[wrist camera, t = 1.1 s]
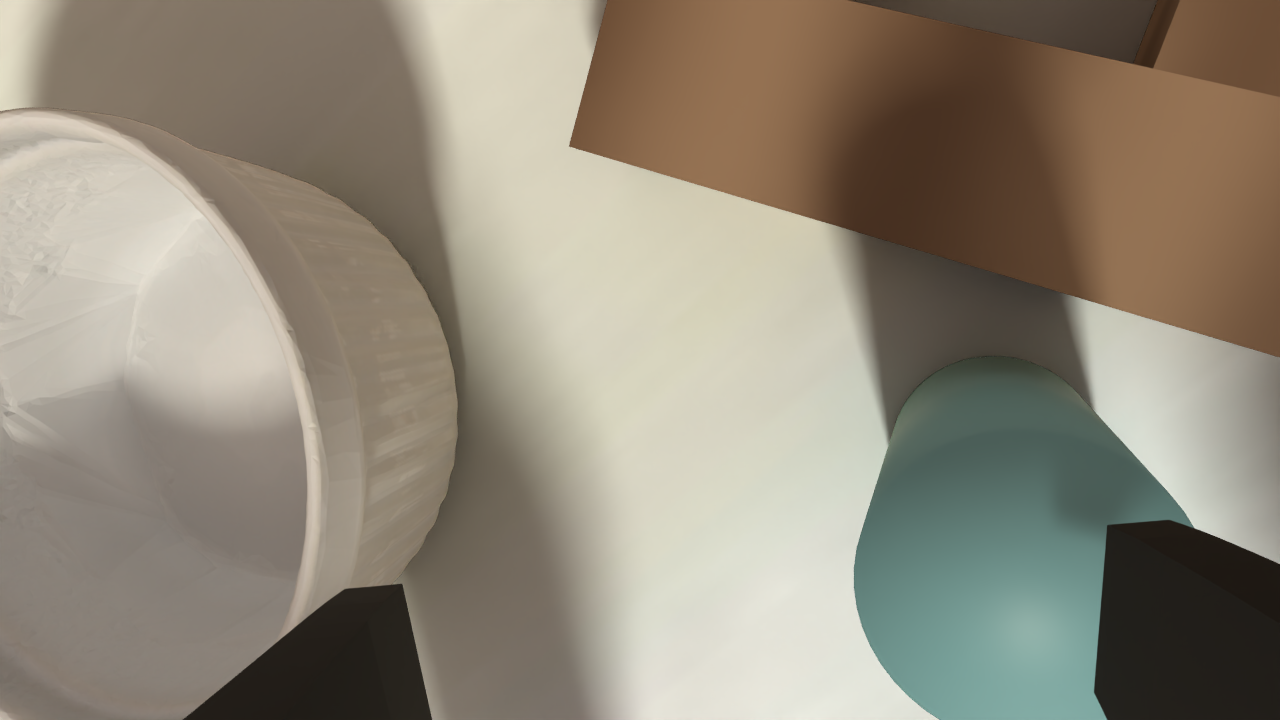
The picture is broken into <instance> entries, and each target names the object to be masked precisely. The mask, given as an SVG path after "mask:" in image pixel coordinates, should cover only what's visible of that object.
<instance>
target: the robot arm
mask: <svg viewBox="0 0 1280 720" xmlns="http://www.w3.org/2000/svg"><path fill="white" fill-rule="evenodd" d="M1094 694H1095V696H1096V698H1097V700H1098V702H1099V704H1100V706H1101V708H1102V710H1103V712H1104V714H1105V716H1106V718H1107V720H1280V564H1278V563H1276V562H1274V561H1271V560H1269V559H1267V558H1264V557H1262V556H1260V555H1258V554H1255V553H1253V552H1251V551H1248V550H1246V549H1244V548H1241V547H1239V546H1237V545H1234V544H1232V543H1230V542H1227V541H1225V540H1223V539H1220V538H1218V537H1215V536H1213V535H1210V534H1208V533H1205V532H1203V531H1200V530H1197V529H1195V528H1192V527H1189V526H1187V525H1184V524H1181V523H1178V522H1175V521H1172V520H1159V521H1147V522H1135V523H1123V524H1111V525H1107V533H1106V546H1105V558H1104V571H1103V583H1102V596H1101V608H1100V621H1099V633H1098V646H1097V658H1096V671H1095V683H1094ZM183 720H432V717H431V713H430V708H429V704H428V699H427V695H426V690H425V686H424V681H423V676H422V672H421V667H420V663H419V658H418V654H417V649H416V644H415V640H414V635H413V631H412V626H411V622H410V617H409V612H408V608H407V603H406V599H405V594H404V590H403V585H402V584H395V585H383V586H371V587H360V588H348V589H344V590H342V591H341V592H340V593H338V594H337V595H335V596H334V597H333V598H331V599H330V600H328V601H327V602H326V603H324V604H323V605H322V606H321V607H319V608H318V609H317V610H316V611H314V612H313V613H312V614H310V615H309V616H308V617H307V618H306V619H304V620H303V621H302V622H301V623H299V624H298V625H297V626H296V627H295V628H293V629H292V630H291V631H290V632H289V633H287V634H286V635H285V636H284V637H282V638H281V639H280V640H279V641H278V642H276V643H275V644H274V645H273V646H272V647H270V648H269V649H268V650H267V651H266V652H264V653H263V654H262V655H261V656H260V657H258V658H257V659H256V660H255V661H254V662H252V663H251V664H250V665H249V666H248V667H246V668H245V669H244V670H243V671H241V672H240V673H239V674H238V675H237V676H235V677H234V678H233V679H232V680H230V681H229V682H228V683H227V684H226V685H224V686H223V687H222V688H221V689H220V690H218V691H217V692H216V693H215V694H213V695H212V696H211V697H210V698H209V699H207V700H206V701H205V702H204V703H202V704H201V705H200V706H199V707H198V708H196V709H195V710H194V711H193V712H191V713H190V714H189V715H188V716H186V717H185V718H184V719H183Z"/></svg>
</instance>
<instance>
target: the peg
mask: <svg viewBox="0 0 1280 720" xmlns="http://www.w3.org/2000/svg"><path fill="white" fill-rule="evenodd" d="M1159 520H1172V521H1175V522H1178V523H1181V524H1184V525H1187V526H1189V527H1192V528H1194V527H1193V525H1192V524H1191V522H1190V520H1189V519H1188V517H1187V516H1186V514H1185V512H1184V511H1183V510H1182V508H1181V507H1180V506H1179V505H1178V504H1177V502H1176V501H1175V500H1174V499H1173V497H1172V496H1171V495H1170V494H1169V493H1168V492H1167V490H1166V489H1165V488H1164V487H1163V486H1162V485H1161V484H1160V483H1159V482H1158V481H1157V479H1156V478H1155V477H1154V476H1153V475H1152V474H1151V473H1150V472H1149V471H1148V470H1147V469H1146V467H1145V466H1144V465H1143V464H1142V463H1141V462H1140V461H1139V460H1138V459H1137V458H1136V457H1135V455H1134V454H1133V453H1132V452H1131V451H1130V450H1129V449H1128V448H1127V447H1126V446H1125V445H1124V443H1123V442H1122V441H1121V440H1120V439H1119V438H1118V437H1117V436H1116V435H1115V434H1114V433H1113V431H1112V430H1111V429H1110V428H1109V427H1108V426H1107V425H1106V424H1105V423H1104V422H1103V420H1102V419H1101V418H1100V417H1099V416H1098V415H1097V414H1096V413H1095V412H1094V411H1093V410H1092V408H1091V407H1090V406H1089V405H1088V404H1087V403H1086V402H1085V401H1084V400H1083V399H1082V398H1081V396H1080V395H1079V394H1078V393H1077V392H1076V391H1075V390H1074V389H1073V388H1072V387H1071V386H1070V385H1069V384H1067V383H1066V382H1065V381H1064V380H1063V379H1061V378H1060V377H1058V376H1057V375H1056V374H1054V373H1052V372H1051V371H1049V370H1047V369H1045V368H1043V367H1041V366H1039V365H1036V364H1033V363H1031V362H1028V361H1024V360H1020V359H1016V358H1010V357H1002V356H985V357H977V358H971V359H967V360H963V361H959V362H957V363H954V364H951V365H949V366H947V367H945V368H943V369H941V370H939V371H937V372H935V373H934V374H933V375H931V376H930V377H928V378H927V379H926V380H925V381H923V382H922V383H921V384H920V385H919V386H918V387H917V388H916V389H915V390H914V391H913V393H912V394H911V395H910V396H909V398H908V399H907V401H906V402H905V404H904V406H903V407H902V409H901V411H900V413H899V416H898V418H897V420H896V424H895V427H894V430H893V433H892V436H891V439H890V443H889V446H888V449H887V452H886V455H885V459H884V462H883V465H882V468H881V471H880V474H879V478H878V481H877V484H876V487H875V490H874V493H873V497H872V500H871V503H870V506H869V509H868V512H867V516H866V519H865V522H864V525H863V528H862V532H861V535H860V539H859V542H858V546H857V550H856V557H855V564H854V591H855V598H856V605H857V610H858V613H859V617H860V621H861V624H862V627H863V630H864V632H865V634H866V637H867V639H868V642H869V644H870V646H871V648H872V650H873V651H874V653H875V655H876V656H877V658H878V660H879V662H880V663H881V665H882V666H883V667H884V669H885V670H886V671H887V673H888V674H889V675H890V677H891V678H892V679H893V681H894V682H895V683H896V684H897V685H898V686H899V687H900V688H901V689H902V690H903V691H904V692H905V693H906V694H907V695H908V696H909V697H910V698H911V699H912V700H914V701H915V702H916V703H917V704H918V705H920V706H921V707H922V708H923V709H924V710H926V711H927V712H929V713H930V714H932V715H933V716H935V717H936V718H938V719H939V720H1107V718H1106V716H1105V714H1104V712H1103V710H1102V708H1101V706H1100V704H1099V702H1098V700H1097V698H1096V696H1095V694H1094V683H1095V671H1096V658H1097V646H1098V633H1099V621H1100V608H1101V596H1102V583H1103V571H1104V558H1105V546H1106V533H1107V525H1111V524H1123V523H1135V522H1147V521H1159Z"/></svg>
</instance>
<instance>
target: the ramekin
mask: <svg viewBox="0 0 1280 720" xmlns="http://www.w3.org/2000/svg"><path fill="white" fill-rule="evenodd" d="M457 411H458V400H457V393H456V386H455V375H454V370H453V366H452V362H451V358H450V353H449V348H448V344H447V342H446V339H445V336H444V334H443V331H442V328H441V324H440V321H439V318H438V315H437V314H436V312H435V310H434V309H433V307H432V305H431V303H430V300H429V298H428V296H427V293H426V291H425V290H424V288H423V286H422V285H421V284H420V283H419V281H418V280H417V279H416V277H415V275H414V273H413V271H412V269H411V267H410V265H409V264H408V263H407V262H406V261H405V260H404V259H403V258H402V256H401V255H400V254H399V253H398V252H397V250H396V249H395V248H394V246H393V245H392V243H391V242H390V241H389V240H388V239H387V238H386V237H385V236H384V235H382V234H381V233H380V232H379V231H378V230H377V229H376V228H375V227H374V226H373V224H372V223H371V222H370V221H369V220H368V219H366V218H365V217H363V216H362V215H360V214H359V213H356V212H355V211H354V210H353V209H351V208H350V207H349V206H348V205H347V204H345V203H344V202H343V201H341V200H339V199H337V198H336V197H334V196H331V195H328V194H327V193H325V192H324V191H323V190H321V189H319V188H317V187H315V186H313V185H311V184H309V183H307V182H304V181H301V180H298V179H295V178H292V177H290V176H287V175H285V174H282V173H279V172H276V171H273V170H270V169H267V168H264V167H261V166H258V165H255V164H252V163H249V162H245V161H242V160H238V159H235V158H231V157H228V156H224V155H221V154H217V153H214V152H210V151H207V150H203V149H199V148H196V147H194V146H192V145H190V144H189V143H187V142H185V141H183V140H182V139H180V138H178V137H176V136H174V135H172V134H170V133H168V132H166V131H164V130H162V129H159V128H156V127H154V126H151V125H147V124H144V123H141V122H138V121H135V120H132V119H128V118H123V117H118V116H113V115H108V114H100V113H91V112H83V111H74V110H64V109H54V108H19V109H12V110H5V111H0V720H183V719H184V718H185V717H186V716H188V715H189V714H190V713H191V712H193V711H194V710H195V709H196V708H198V707H199V706H200V705H201V704H202V703H204V702H205V701H206V700H207V699H209V698H210V697H211V696H212V695H213V694H215V693H216V692H217V691H218V690H220V689H221V688H222V687H223V686H224V685H226V684H227V683H228V682H229V681H230V680H232V679H233V678H234V677H235V676H237V675H238V674H239V673H240V672H241V671H243V670H244V669H245V668H246V667H248V666H249V665H250V664H251V663H252V662H254V661H255V660H256V659H257V658H258V657H260V656H261V655H262V654H263V653H264V652H266V651H267V650H268V649H269V648H270V647H272V646H273V645H274V644H275V643H276V642H278V641H279V640H280V639H281V638H282V637H284V636H285V635H286V634H287V633H289V632H290V631H291V630H292V629H293V628H295V627H296V626H297V625H298V624H299V623H301V622H302V621H303V620H304V619H306V618H307V617H308V616H309V615H310V614H312V613H313V612H314V611H316V610H317V609H318V608H319V607H321V606H322V605H323V604H324V603H326V602H327V601H328V600H330V599H331V598H333V597H334V596H335V595H337V594H338V593H340V592H341V591H342V590H344V589H348V588H360V587H371V586H383V585H391V584H392V583H393V582H394V581H395V580H396V579H397V578H398V577H399V576H400V575H401V574H402V573H403V571H404V570H405V568H406V566H407V565H408V562H409V561H410V560H411V559H412V558H413V557H414V556H415V555H416V554H417V553H418V552H419V550H420V548H421V547H422V545H423V543H424V541H425V538H426V536H427V533H428V532H429V531H430V530H431V529H432V527H433V526H434V524H435V522H436V520H437V517H438V514H439V508H440V505H441V503H442V501H443V500H444V498H445V497H446V494H447V492H448V485H449V479H450V474H451V472H452V470H453V467H454V462H455V448H456V442H457V438H458V425H457Z"/></svg>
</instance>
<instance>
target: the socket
mask: <svg viewBox="0 0 1280 720" xmlns="http://www.w3.org/2000/svg"><path fill="white" fill-rule="evenodd" d="M569 146H570V147H573V148H576V149H580V150H583V151H586V152H590V153H593V154H597V155H600V156H603V157H607V158H610V159H613V160H617V161H620V162H623V163H627V164H630V165H634V166H637V167H640V168H644V169H647V170H650V171H654V172H657V173H661V174H664V175H667V176H671V177H674V178H677V179H681V180H684V181H687V182H691V183H694V184H698V185H701V186H704V187H708V188H711V189H714V190H718V191H721V192H725V193H728V194H731V195H735V196H738V197H741V198H745V199H748V200H751V201H755V202H758V203H762V204H765V205H768V206H772V207H775V208H778V209H782V210H785V211H789V212H792V213H795V214H799V215H802V216H805V217H809V218H812V219H815V220H819V221H822V222H826V223H829V224H832V225H836V226H839V227H842V228H846V229H849V230H853V231H856V232H859V233H863V234H866V235H869V236H873V237H876V238H879V239H883V240H886V241H890V242H893V243H896V244H900V245H903V246H906V247H910V248H913V249H917V250H920V251H923V252H927V253H930V254H933V255H937V256H940V257H944V258H947V259H950V260H954V261H957V262H960V263H964V264H967V265H970V266H974V267H977V268H981V269H984V270H987V271H991V272H994V273H997V274H1001V275H1004V276H1008V277H1011V278H1014V279H1018V280H1021V281H1024V282H1028V283H1031V284H1034V285H1038V286H1041V287H1045V288H1048V289H1051V290H1055V291H1058V292H1061V293H1065V294H1068V295H1072V296H1075V297H1078V298H1082V299H1085V300H1088V301H1092V302H1095V303H1098V304H1102V305H1105V306H1109V307H1112V308H1115V309H1119V310H1122V311H1125V312H1129V313H1132V314H1136V315H1139V316H1142V317H1146V318H1149V319H1152V320H1156V321H1159V322H1162V323H1166V324H1169V325H1173V326H1176V327H1179V328H1183V329H1186V330H1189V331H1193V332H1196V333H1200V334H1203V335H1206V336H1210V337H1213V338H1216V339H1220V340H1223V341H1226V342H1230V343H1233V344H1237V345H1240V346H1243V347H1247V348H1250V349H1253V350H1257V351H1260V352H1264V353H1267V354H1270V355H1274V356H1277V357H1280V0H1158V1H1157V4H1156V6H1155V9H1154V11H1153V14H1152V16H1151V19H1150V22H1149V24H1148V27H1147V29H1146V32H1145V34H1144V37H1143V40H1142V42H1141V45H1140V47H1139V50H1138V52H1137V55H1136V58H1135V60H1134V63H1133V64H1130V63H1126V62H1121V61H1117V60H1112V59H1108V58H1103V57H1099V56H1095V55H1090V54H1086V53H1081V52H1077V51H1072V50H1068V49H1063V48H1059V47H1054V46H1050V45H1045V44H1041V43H1037V42H1032V41H1028V40H1023V39H1019V38H1014V37H1010V36H1005V35H1001V34H996V33H992V32H987V31H983V30H979V29H974V28H970V27H965V26H961V25H956V24H952V23H947V22H943V21H938V20H934V19H930V18H925V17H921V16H916V15H912V14H907V13H903V12H898V11H894V10H889V9H885V8H880V7H876V6H872V5H867V4H863V3H858V2H854V1H849V0H607V4H606V8H605V12H604V16H603V19H602V23H601V27H600V31H599V35H598V38H597V42H596V46H595V50H594V54H593V57H592V61H591V65H590V69H589V73H588V76H587V80H586V84H585V88H584V92H583V95H582V99H581V103H580V107H579V110H578V114H577V118H576V122H575V126H574V129H573V133H572V137H571V141H570V145H569Z"/></svg>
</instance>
